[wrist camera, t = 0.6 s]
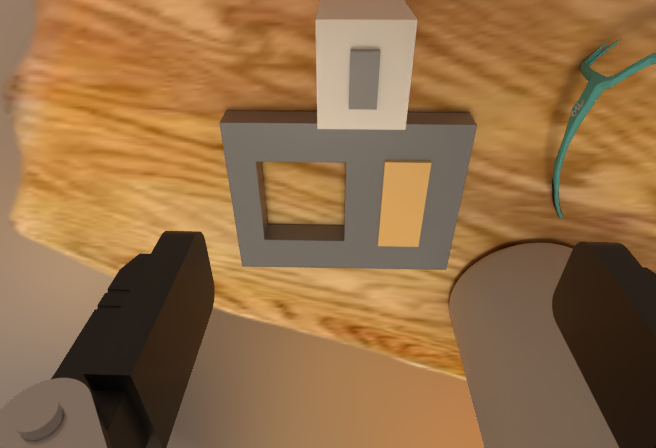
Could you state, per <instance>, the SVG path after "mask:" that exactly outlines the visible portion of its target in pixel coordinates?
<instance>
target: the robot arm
mask: <svg viewBox="0 0 656 448" xmlns="http://www.w3.org/2000/svg"><path fill="white" fill-rule="evenodd" d="M213 303H214V281H213V276H212V271H211V267H210V262H209V257H208V252H207V247H206V243H205V238H204V236H203V234H202V233H201V232H192V231H165V232H164V233H163V234H162V235H161V237H160V239H159V240H158V242H157V244H156V246H155V247H154V249H153V251H152V253H151V254H139V255H137V256H136V257H135V258H134V259H132V260H131V261H130V262H129V263H128V264H126V265H125V266H124V267H123V268H121V269H120V270H119V272H118V273H117V275H116V277H115V278H114V280H113V282H112V283H111V285H110V286H109V288H108V293H105V294H104V296H103V297H102V299H101V301H100V302H99V304H98V309H97V310H94V312H93V313H92V315H91V317H90V318H89V320H88V322H87V323H86V325H85V326H84V328H83V329H82V331H81V333H80V334H79V336H78V337H77V339H76V341H75V342H74V344H73V345H72V347H71V349H70V350H69V352H68V354H67V355H66V357H65V358H64V360H63V361H62V363H61V365H60V366H59V368H58V369H57V371H56V373H55V374H54V376H53V377H52V378H51V379H50V380H46V381H43V382H40V383H38V384H35V385H33V386H31V387H29V388H27V389H25V390H24V391H22V392H21V393H19V394H18V395H16V396H15V397H14V398H12V399H11V400H10V401H9V402H8V403H7V404H6V405H5V406H4V407H3V408H2V409H1V410H0V448H166V447H167V444H168V441H169V438H170V435H171V432H172V429H173V426H174V423H175V420H176V417H177V414H178V411H179V408H180V405H181V402H182V399H183V396H184V393H185V390H186V387H187V384H188V381H189V378H190V375H191V372H192V369H193V366H194V363H195V360H196V357H197V354H198V350H199V348H200V345H201V342H202V339H203V336H204V333H205V330H206V327H207V324H208V321H209V318H210V315H211V311H212V308H213ZM552 311H553V316H554V319H555V322H556V324H557V326H558V328H559V330H560V332H561V334H562V336H563V338H564V340H565V342H566V343H567V345H568V347H569V349H570V351H571V353H572V355H573V357H574V359H575V361H576V363H577V365H578V367H579V369H580V371H581V373H582V375H583V377H584V379H585V381H586V383H587V385H588V387H589V389H590V391H591V393H592V395H593V397H594V399H595V401H596V403H597V405H598V407H599V409H600V411H601V413H602V415H603V417H604V419H605V421H606V422H607V424H608V426H609V428H610V430H611V432H612V434H613V436H614V438H615V440H616V442H617V444H618V446H619V448H656V274H655V273H654V272H652V271H651V270H649V269H648V268H643V267H642V266H641V265H640V264H639V262H638V261H637V260H636V259H635V258H634V256H633V255H632V254H631V253H630V252H629V250H628V249H627V248H626V247H625V246H624V245H622V244H620V243H611V242H579V243H578V244H576V245H575V247H574V248H573V250H572V252H571V254H570V257H569V259H568V261H567V264H566V266H565V268H564V270H563V273H562V275H561V277H560V280H559V282H558V284H557V286H556V289H555V291H554V294H553V298H552Z"/></svg>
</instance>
